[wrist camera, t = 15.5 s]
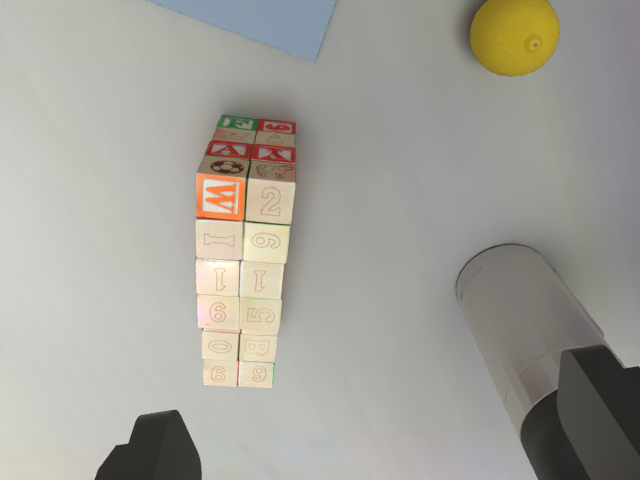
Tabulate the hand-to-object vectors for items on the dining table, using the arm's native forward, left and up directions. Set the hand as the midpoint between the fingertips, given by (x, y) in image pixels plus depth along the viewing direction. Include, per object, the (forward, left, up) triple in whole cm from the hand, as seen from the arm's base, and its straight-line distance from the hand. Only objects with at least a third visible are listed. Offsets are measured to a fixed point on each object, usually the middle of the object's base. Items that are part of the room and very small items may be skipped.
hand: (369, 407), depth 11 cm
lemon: (-12, -7, -34) cm, 37 cm away
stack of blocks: (0, +16, -34) cm, 38 cm away
